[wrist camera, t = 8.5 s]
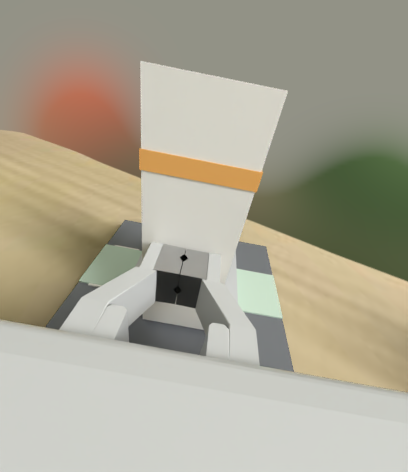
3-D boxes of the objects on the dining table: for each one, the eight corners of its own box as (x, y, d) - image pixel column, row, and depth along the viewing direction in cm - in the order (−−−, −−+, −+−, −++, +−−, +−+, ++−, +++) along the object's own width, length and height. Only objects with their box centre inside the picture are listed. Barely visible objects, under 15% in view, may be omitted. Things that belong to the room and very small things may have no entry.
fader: (141, 319, 13) (137, 60, 6) (155, 280, 15) (165, 66, 8) (210, 331, 13) (290, 91, 6) (213, 290, 15) (271, 88, 8)
